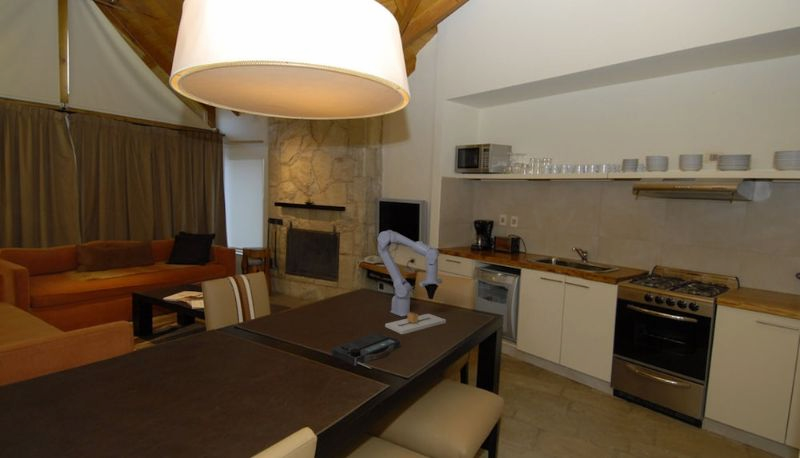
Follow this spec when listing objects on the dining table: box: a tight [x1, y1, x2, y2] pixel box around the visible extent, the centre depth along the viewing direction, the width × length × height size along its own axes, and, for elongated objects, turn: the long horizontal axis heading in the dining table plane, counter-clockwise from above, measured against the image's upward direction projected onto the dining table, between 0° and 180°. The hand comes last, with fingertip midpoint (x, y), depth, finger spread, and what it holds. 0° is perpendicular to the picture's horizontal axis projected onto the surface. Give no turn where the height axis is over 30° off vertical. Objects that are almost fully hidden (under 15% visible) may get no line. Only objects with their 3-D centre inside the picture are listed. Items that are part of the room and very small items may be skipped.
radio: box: [331, 332, 401, 369], centre depth 156 cm, size 25×4×20 cm
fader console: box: [384, 313, 447, 335], centre depth 191 cm, size 12×28×2 cm, turn 130°
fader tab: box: [406, 311, 419, 323], centre depth 189 cm, size 4×3×4 cm
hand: (430, 298), depth 203 cm, fingers closed
